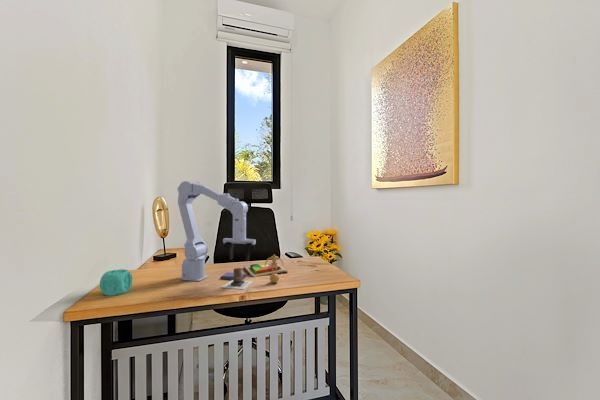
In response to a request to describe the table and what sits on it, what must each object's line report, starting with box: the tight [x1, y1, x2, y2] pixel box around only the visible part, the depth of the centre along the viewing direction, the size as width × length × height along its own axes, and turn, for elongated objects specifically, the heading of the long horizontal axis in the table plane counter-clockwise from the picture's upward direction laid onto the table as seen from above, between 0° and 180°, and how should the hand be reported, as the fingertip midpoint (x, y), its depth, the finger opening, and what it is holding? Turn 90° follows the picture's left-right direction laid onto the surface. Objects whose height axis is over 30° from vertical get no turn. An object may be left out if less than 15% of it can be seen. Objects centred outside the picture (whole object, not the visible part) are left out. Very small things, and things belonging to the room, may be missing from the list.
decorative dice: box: [99, 268, 133, 297], centre depth 109 cm, size 8×8×8 cm
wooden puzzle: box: [243, 260, 289, 278], centre depth 142 cm, size 17×19×4 cm
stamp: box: [231, 267, 245, 286], centre depth 119 cm, size 4×4×6 cm
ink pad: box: [219, 272, 248, 281], centre depth 129 cm, size 10×7×1 cm
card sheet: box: [221, 280, 254, 290], centre depth 119 cm, size 10×10×1 cm
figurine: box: [264, 254, 284, 284], centre depth 123 cm, size 8×6×12 cm
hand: (239, 260), depth 123 cm, fingers open, 7 cm apart
